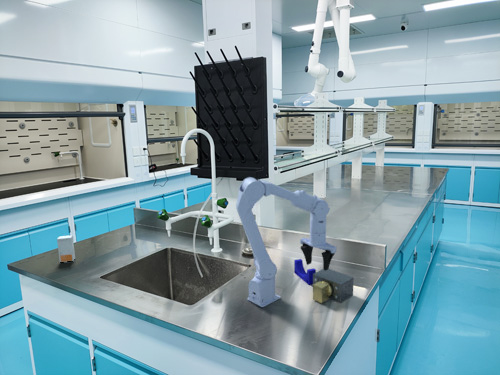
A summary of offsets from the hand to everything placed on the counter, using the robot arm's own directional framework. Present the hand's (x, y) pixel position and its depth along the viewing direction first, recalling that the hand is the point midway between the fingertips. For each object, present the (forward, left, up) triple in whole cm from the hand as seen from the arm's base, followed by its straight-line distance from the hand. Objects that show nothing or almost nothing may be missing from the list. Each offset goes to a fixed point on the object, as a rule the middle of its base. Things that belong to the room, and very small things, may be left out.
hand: (317, 266), depth 127 cm
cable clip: (+7, +10, -10) cm, 16 cm away
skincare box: (-58, +102, -10) cm, 118 cm away
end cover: (-1, -5, -9) cm, 11 cm away
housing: (+3, -5, -10) cm, 11 cm away
